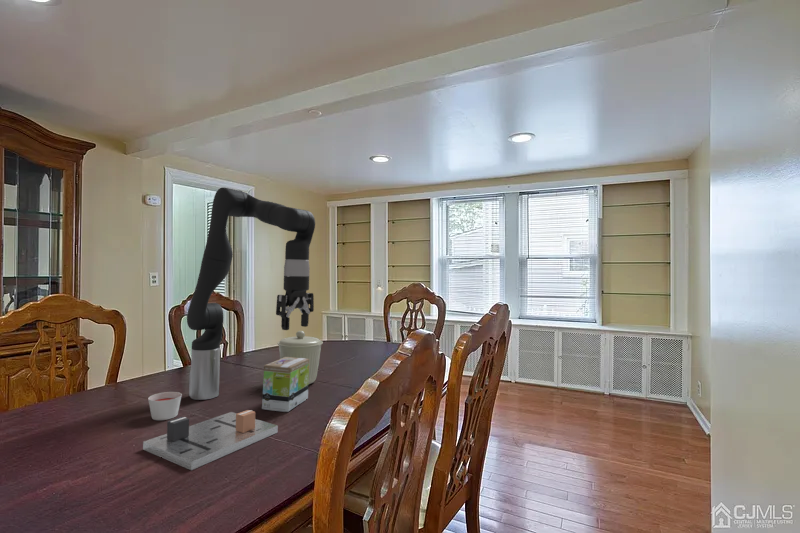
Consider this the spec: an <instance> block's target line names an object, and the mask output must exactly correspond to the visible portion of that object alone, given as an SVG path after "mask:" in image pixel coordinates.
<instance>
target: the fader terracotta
mask: <svg viewBox="0 0 800 533" xmlns="http://www.w3.org/2000/svg"><path fill="white" fill-rule="evenodd" d="M255 419H256V411H253V410H252V409H251V410H249V409H246V410H244V411H241V412H238V413H237V414H236V431H238V432H241V433H244V432H247V431H249V430H252V429H254V428H255Z"/></svg>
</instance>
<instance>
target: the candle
mask: <svg viewBox="0 0 800 533" xmlns="http://www.w3.org/2000/svg"><path fill="white" fill-rule="evenodd" d="M182 396H183V394H182V393H181V392H179V391H166V392H164V391H163V392H159V393H155V394H152V395H150V396H149V397H147V398H148V406H149V410H150V411H149V412H150V417H151V419H152V420H154V421H165V420H166V421H168V420H172V419H175V417H176V418H177V416H178V414H179V410H180V407H181V406H180V405H181V402H182Z"/></svg>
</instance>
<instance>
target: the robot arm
mask: <svg viewBox="0 0 800 533" xmlns="http://www.w3.org/2000/svg"><path fill="white" fill-rule="evenodd" d="M229 217H234V218H235V217H236V218H240V217H241V218H254V219H258V221H260V222H262V223H264V224H267V225H270V226H274V227H278V228H279V229H281V230H284V231H287V232H292V233H296V235H295V237H294V239H290V240H288V241H286V244H285V251H284V252H285V254H284V255H285V256H284V266H283V290H284V291H285V294H277V295H276V306H275V315H276V316H279V317H280V318H281V323H280V324H281V325H280V326H281V330H282V331H289V330H290V315H291V314H292V312H293V311H294V310H295V309H296V310H297V309H298V310H299V311H300V313H301V314H300V315H301V316H300V326H301V327H304V328H306V327H308V326H309V322H310V320H309V315H310V314H311V313H312V312H313V313H314V310H315V309H314V308H315V307H314V306H315V305H314V304H315V303H314V300H315V299H314V293H313V292H307V291H309V289H310V245H311V243H312V239H313V235H314V233H315V229H316V220H315V216H314V214H313V212H311V211H309V210H305V209H300V208H294V207H289V206H286V205H284V204H280V203H276V202H273V201H268V200H267V201H266V200H261V199H259V198H256V197H254V196H253V195H252V194H248V193H247V192H246V191H242V190H238V189H234V188H231V187H230V188H229V187H220V188H218V190H217V191H216V192H215V195H214V197H213V201H212V206H211V215H210V222H209V228H208V229H209V230H208V234H207V237H206V238H207V239H206V244H205V247H204V252H203V255H202V259H201V263H200V269H199V274H198V278H197V282H196V285H195V290H194V291H193V295H192V297H191V300H190V303H189V306H188V310H187V314H186V324H187V327H188V328H189V329H190V330H192V331H203V333H202V334H201V335H200V336H198V337H197V338H195V339H193V340H192V342H191V361H190V362H191V363H190V365H191V366H190V370H189V386H188V387H189V388H188V392H189V393H188V395H189V397H190V399H192V400H197V401H199V400H200V401H202V400H210V399H214V398H216V397H218V396H219V395H220V393H219V392H220V368H221V366H220V364H221V363H220V362H221V361H220V359H221V358H220V357H221V356H220V355H221V341H222V339H223V330H224V310H223V307H222V306H221V304H219V303H217V302H209V300H210V298H211V296H212V294H213V292H214V291H215V290H216V289H217V288H218V287H219V285H220V284H221V283H222V282H223V281H224V280H225V278H226V277H227V276H228V274H229V272H230V268H231V264H232V261H233V249H232V245H231V243H230V239H229V237H228V234H227V224H228V218H229Z"/></svg>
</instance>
